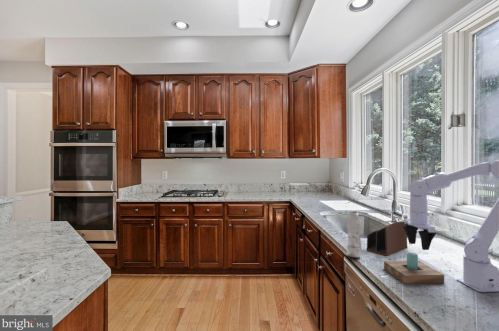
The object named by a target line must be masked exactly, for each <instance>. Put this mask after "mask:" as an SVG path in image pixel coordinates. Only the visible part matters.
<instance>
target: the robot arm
mask: <svg viewBox="0 0 499 331" xmlns="http://www.w3.org/2000/svg"><path fill="white" fill-rule="evenodd" d="M490 173H491V174H492V176H494V178H496V179H497V180H498V181H499V159H496V160H494V161H492V160H491V161H486V162H479V163H475V164H473V165H471V166H470V165H469V166H468V167H467V166H466V167H465V168H461V169H459V170H456V171H453V172H450V173H446V172H439V171H436V172H434V173H433V174H432V175H429V176H426V177H424V176H422V177H420V179H416V180H413V181H411V182H410V183H409V185H408V191H409V193H410V194H409V195H410V196H409V198H410V199H409V218H404V220H403V221H404V224H406V225H403V228H404V230H405V232H406V234H407V242H408V243H409V245H416V241H417V233H418V235H419V236H420V237H419V238H420V242H421V249H422V250H423V251H429V249H430V246H431V244H432V241H433V239H434V237H435V236H436V234H437V232H436V227H435V226H433V225H432V224H429V223H428V197H427V194H428V193H433V192H436V191H439V190H443V189H447V188H449V187H450V186H451V184H452V183H453V182H457V181H459V180H463V179H466V178H471V177H476V176H478V175H480V176H488V177H489V176H490ZM419 229H421V230H419ZM498 233H499V197H498V198H497V199H496V201H495V203H494V205H493V206H492V208H491V209H490V211H489V212H488V214H487V215H486V217H485V219H484V220H483V222H482V224H481V225H480V227H479V228H478V229H477V231H476V232H475V234H474V235H473V236H471V237H469V238H468V239H466V241H465V246H464V248H463V252H464V254H463V258H462V260H463V263H462V264H463V265H462V266H463V269H462V270H463V274H462V276H463V277H462V278H461V277H460V278H456V281H458V282H460V283H461V284H464V285H465V286H468V287H469V288H471V289H473V290H474V291H476V292H479V293H487V292H488V293H491V292H493V293H494V292H499V268H498V267H497V266H495V265H493V264H492V262H491V258H489V251H490V247H492V244H493V241H494V240H495V238H496V236H497V235H498Z"/></svg>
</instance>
